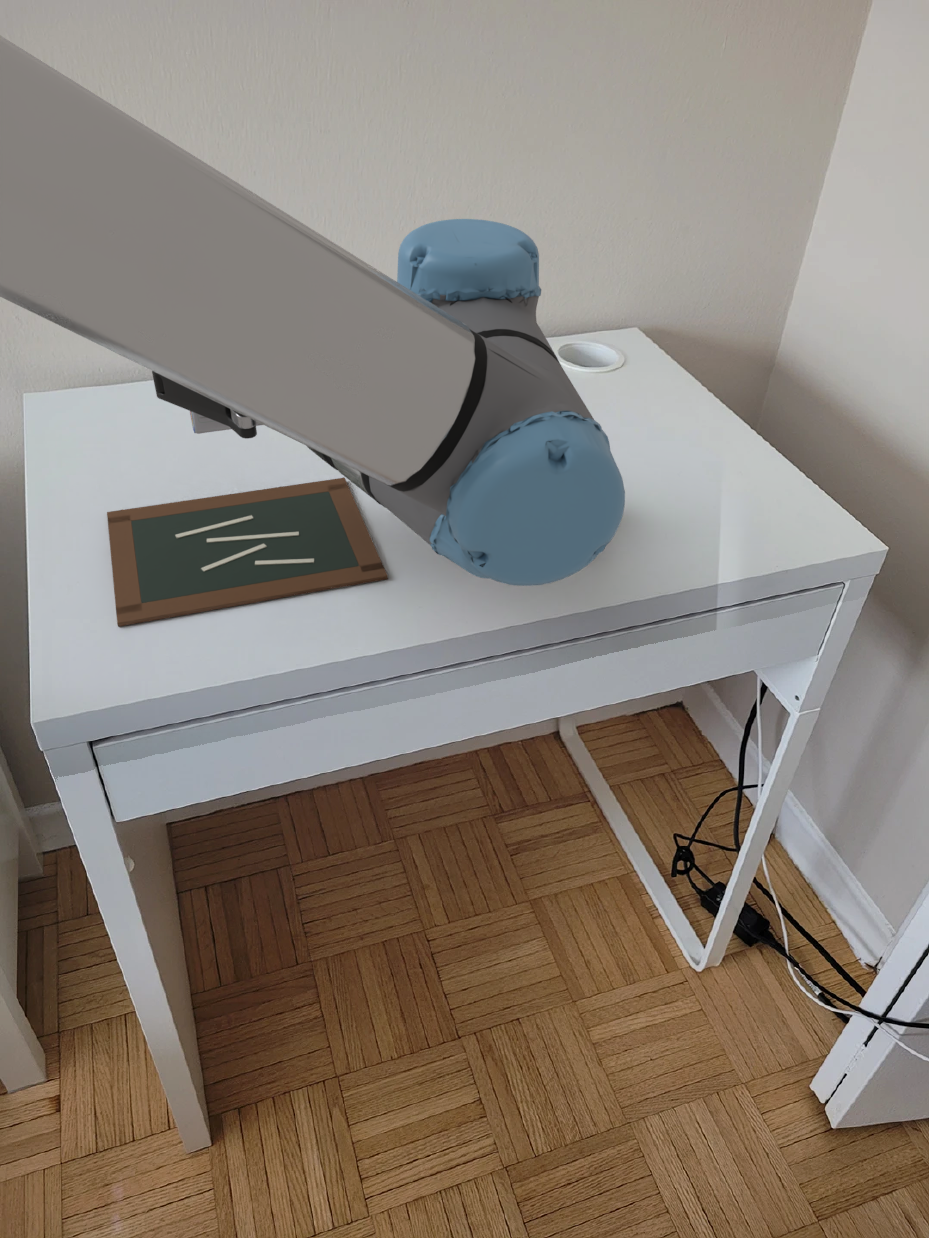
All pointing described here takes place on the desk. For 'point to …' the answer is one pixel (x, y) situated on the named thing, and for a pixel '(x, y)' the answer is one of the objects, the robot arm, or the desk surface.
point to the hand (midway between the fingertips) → (215, 316)
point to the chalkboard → (238, 550)
